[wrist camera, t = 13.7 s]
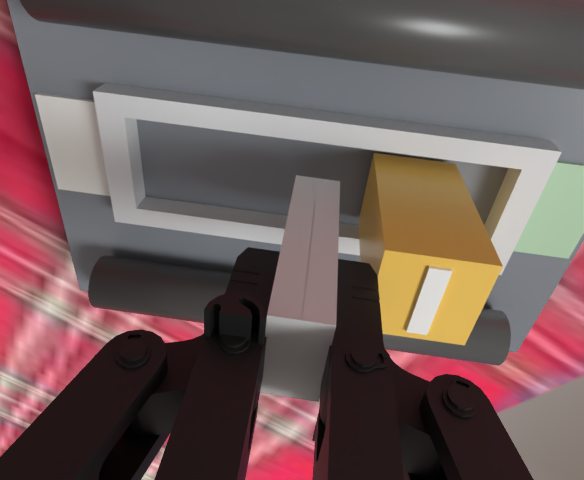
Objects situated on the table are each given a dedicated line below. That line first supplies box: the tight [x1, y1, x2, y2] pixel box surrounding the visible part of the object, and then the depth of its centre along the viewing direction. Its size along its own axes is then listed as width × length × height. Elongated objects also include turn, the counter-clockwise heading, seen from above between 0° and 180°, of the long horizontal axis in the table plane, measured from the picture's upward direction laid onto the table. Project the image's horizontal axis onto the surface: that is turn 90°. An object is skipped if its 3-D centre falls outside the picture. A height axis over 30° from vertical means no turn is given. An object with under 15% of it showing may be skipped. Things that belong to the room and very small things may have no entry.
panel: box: [7, 0, 584, 365], centre depth 17 cm, size 22×16×5 cm
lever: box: [359, 153, 503, 345], centre depth 14 cm, size 3×3×6 cm
